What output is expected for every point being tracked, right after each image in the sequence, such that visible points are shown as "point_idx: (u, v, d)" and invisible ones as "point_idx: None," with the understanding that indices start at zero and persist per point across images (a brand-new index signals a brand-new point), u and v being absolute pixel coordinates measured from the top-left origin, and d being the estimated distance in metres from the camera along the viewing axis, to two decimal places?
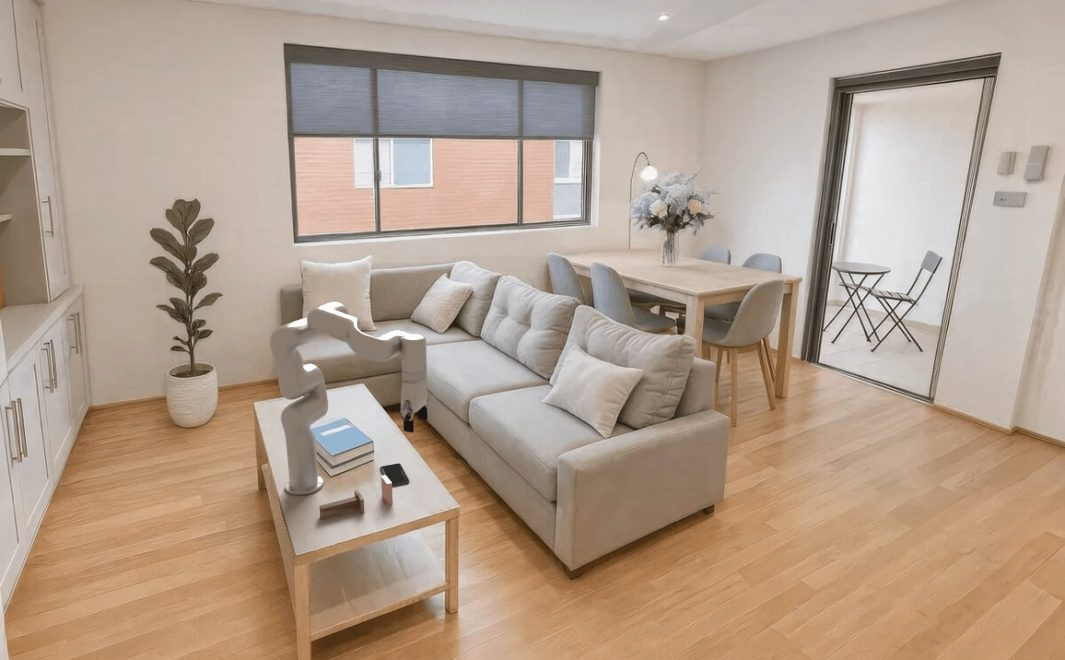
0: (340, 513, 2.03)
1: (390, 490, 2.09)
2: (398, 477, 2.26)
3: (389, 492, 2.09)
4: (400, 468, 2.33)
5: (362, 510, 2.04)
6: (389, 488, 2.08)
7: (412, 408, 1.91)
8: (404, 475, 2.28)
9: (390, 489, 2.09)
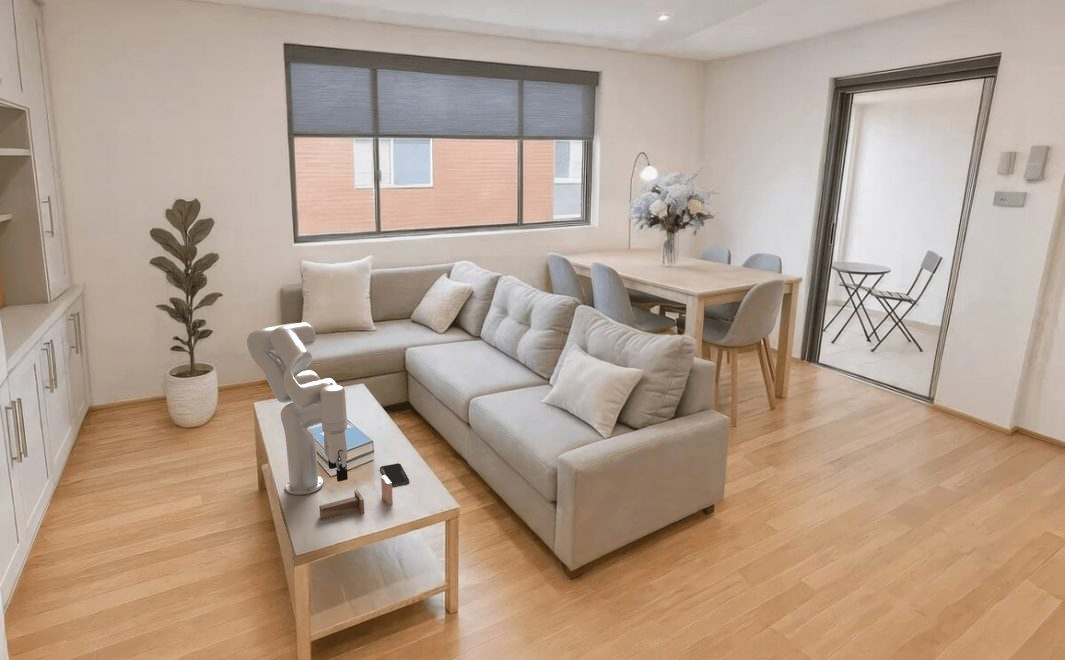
0: (340, 513, 2.03)
1: (390, 490, 2.09)
2: (398, 477, 2.26)
3: (389, 492, 2.09)
4: (400, 468, 2.33)
5: (362, 510, 2.04)
6: (389, 488, 2.08)
7: (345, 456, 1.95)
8: (404, 475, 2.28)
9: (390, 489, 2.09)
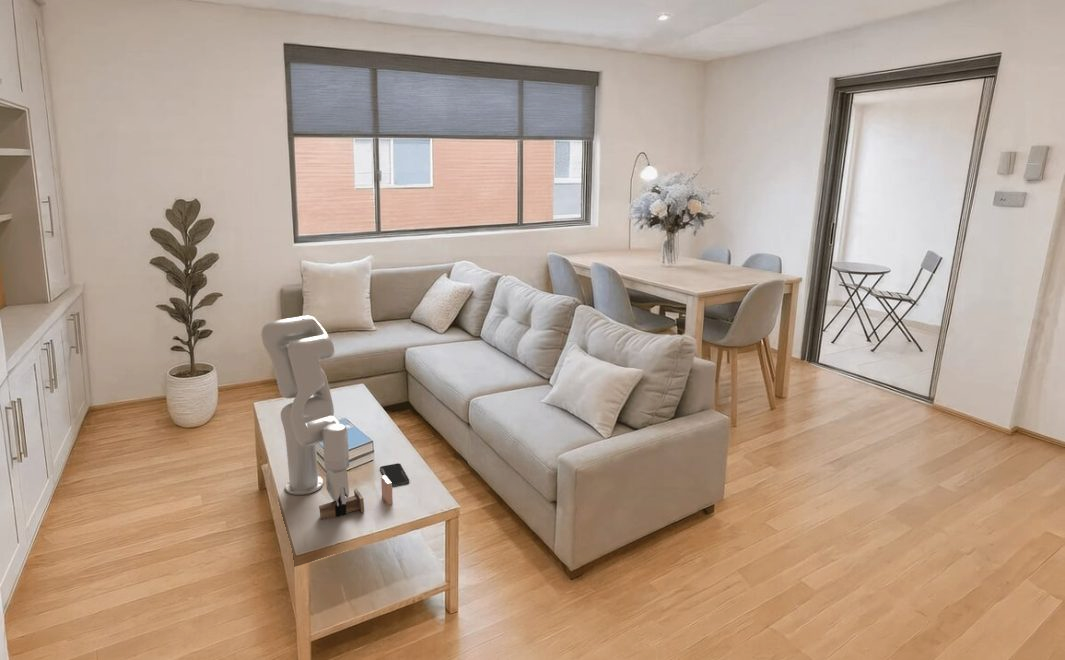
0: None
1: (390, 490, 2.09)
2: (398, 477, 2.26)
3: (389, 492, 2.09)
4: (400, 468, 2.33)
5: (362, 509, 2.04)
6: (389, 488, 2.08)
7: (346, 496, 2.00)
8: (404, 475, 2.28)
9: (390, 489, 2.09)
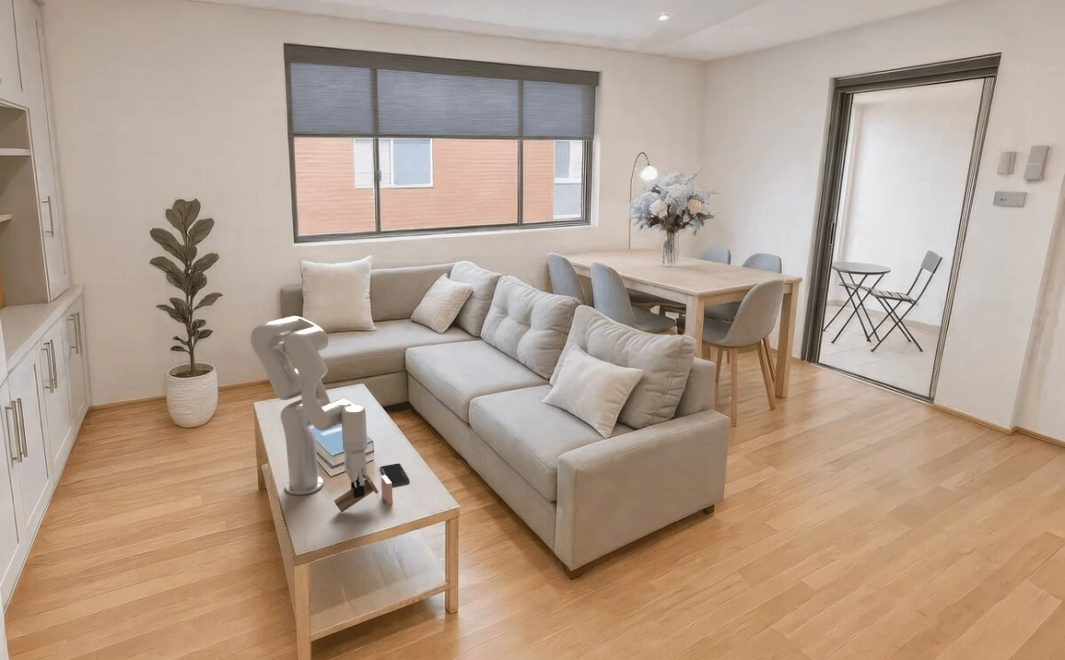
0: (356, 500, 2.05)
1: (390, 490, 2.09)
2: (398, 477, 2.26)
3: (389, 492, 2.09)
4: (400, 468, 2.33)
5: (375, 491, 2.05)
6: (389, 488, 2.08)
7: (364, 477, 2.01)
8: (404, 475, 2.28)
9: (390, 489, 2.09)
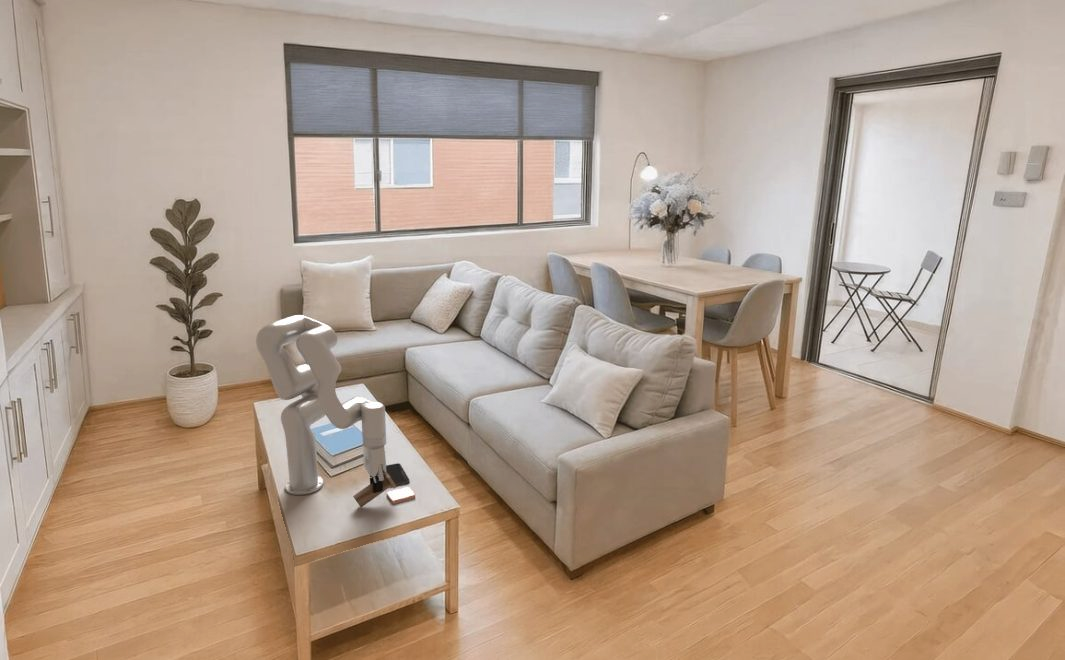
0: (375, 495, 2.08)
1: (407, 499, 2.13)
2: (398, 477, 2.26)
3: (406, 498, 2.13)
4: (400, 468, 2.33)
5: (394, 485, 2.08)
6: (409, 497, 2.13)
7: (383, 473, 2.05)
8: (404, 475, 2.28)
9: (408, 499, 2.13)
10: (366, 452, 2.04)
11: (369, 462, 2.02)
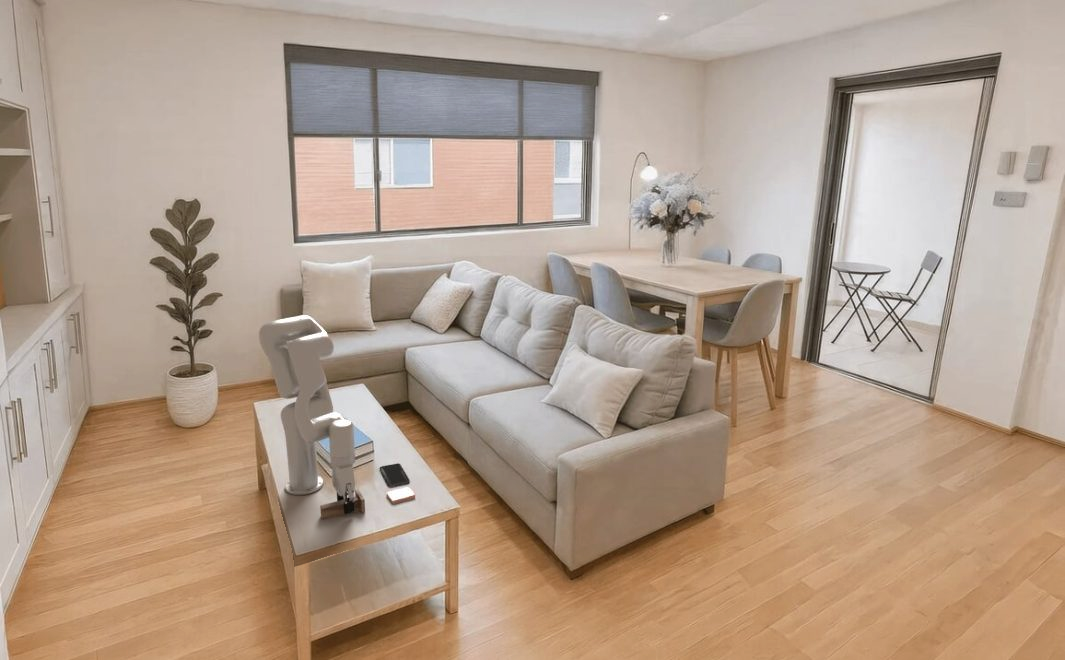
0: (341, 513, 2.03)
1: (407, 499, 2.13)
2: (398, 477, 2.26)
3: (405, 498, 2.13)
4: (400, 468, 2.33)
5: (363, 510, 2.04)
6: (409, 497, 2.13)
7: (353, 490, 2.00)
8: (404, 475, 2.28)
9: (408, 499, 2.13)
10: (334, 471, 2.00)
11: (337, 481, 1.98)
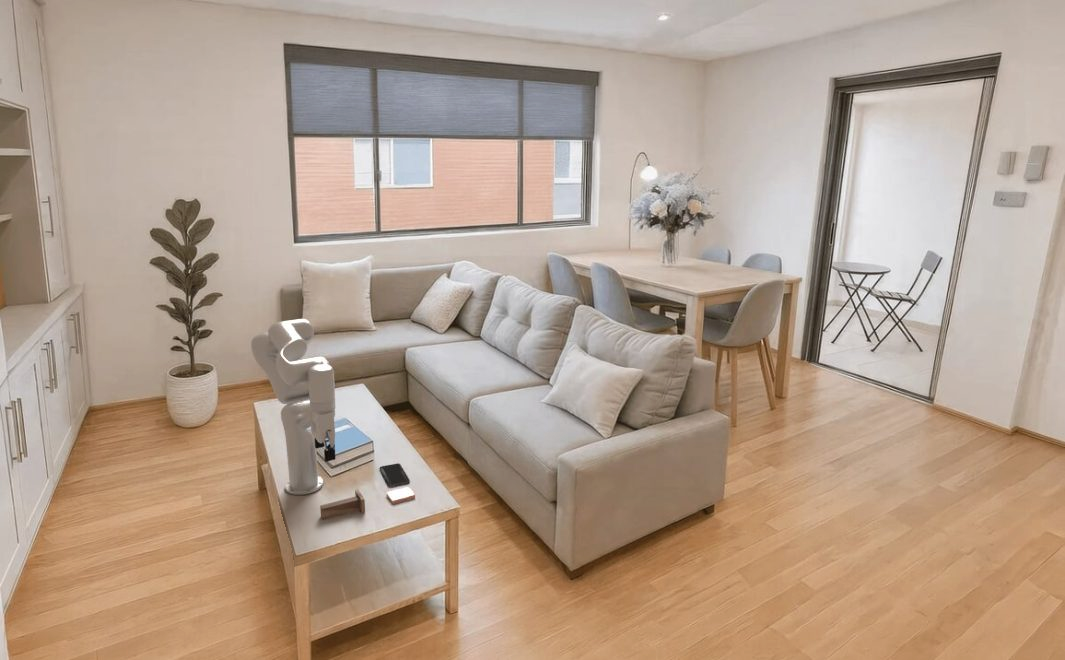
0: (341, 513, 2.03)
1: (407, 499, 2.13)
2: (398, 477, 2.26)
3: (405, 498, 2.13)
4: (400, 468, 2.33)
5: (363, 510, 2.04)
6: (409, 497, 2.13)
7: (333, 436, 1.93)
8: (404, 475, 2.28)
9: (408, 499, 2.13)
10: (314, 417, 1.93)
11: (317, 428, 1.92)
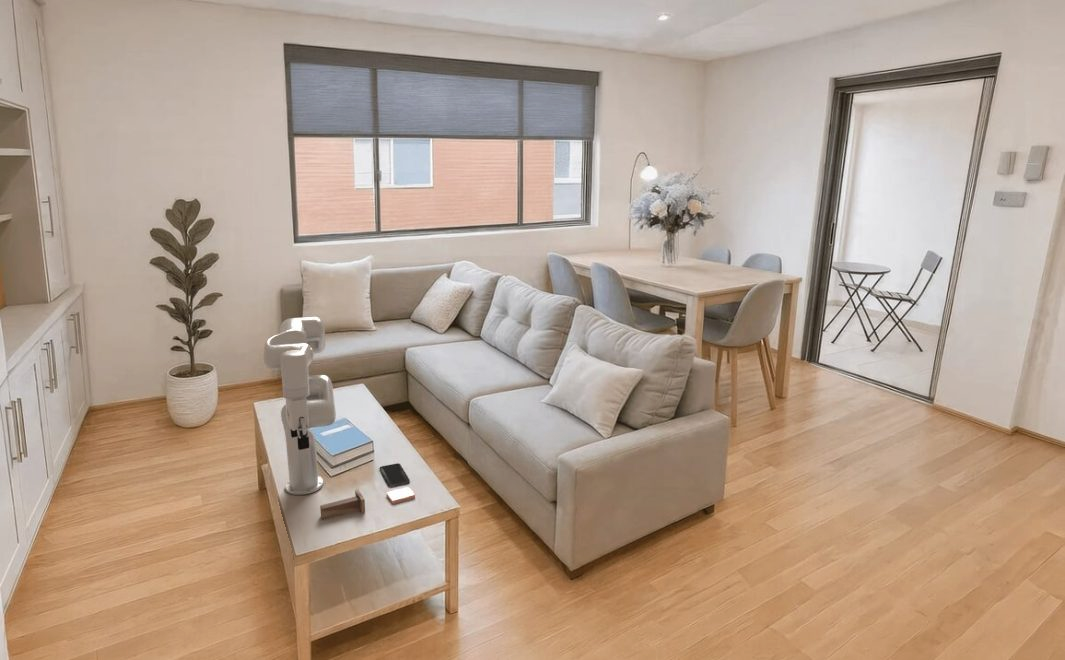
0: (341, 513, 2.03)
1: (407, 499, 2.13)
2: (398, 477, 2.26)
3: (405, 499, 2.13)
4: (400, 468, 2.33)
5: (363, 510, 2.04)
6: (409, 497, 2.13)
7: (307, 423, 1.89)
8: (404, 475, 2.28)
9: (408, 499, 2.13)
10: (287, 404, 1.89)
11: (290, 415, 1.88)
